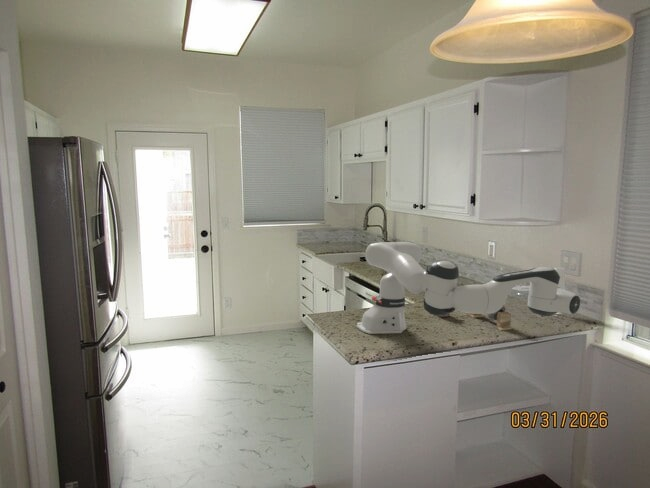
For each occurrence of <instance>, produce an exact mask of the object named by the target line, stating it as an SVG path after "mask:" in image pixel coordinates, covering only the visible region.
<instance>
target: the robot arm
mask: <svg viewBox="0 0 650 488" xmlns="http://www.w3.org/2000/svg"><path fill="white" fill-rule="evenodd" d="M364 253H365V254H364V256H365V260H366V263H368V265H369V266H372V267H376V268H378V269H382V270H383V271H385V272H387V273H386V274H384V275H383V276H382V277H381V278H380V280H379V281H380V282H379V295H378V297H376V296H373V295H372V297H371V300H372V301H373V302H375V304H374V305H372V306H371V307H370V308H369V309H367V310H366V311H365V312H363V314H362V318H361V321H358V322H357V324H356V327H357V329H358V330H359V331H360V332H363V333H366V334H369V335H375V334H376V335H379V334H402V333H403V332H404V331H405V330H406V329H407V324H406V319H405V318H406V317H405V307H406V297H405V290H406V291H408V292H409V293H411V294H415V295H416V294H421V293H423V292H424V298H423V308H424V310H425V311H426V312H427V313H429V314H430V315H433V316H438V317H440V316H442V315H446V314H448V313H450V314H451V313H454V311H458V312H462V313H466V314H468V313H472V314H483V315H488V314H491V313H495V312H497V311H499V310H500V309H501V308H502V307H503V305H504V306H505V304H506V301H507V300H508V297H509V296H510V297H512V298H516V299H522V300H523V299H525V300H526V299H527V308H528V310H529V311H530V312H531V313H533V314H536V315H538V316H539V315H540V316H542V317H551V316H555V315H554V314H556V313H558V312H560V313H562V314H569V315H574V314H577V312H578V311H579V310H580V306H581V298H580V296H579V294H578V295H577V293H574V292H572V291H570V290H567V289H565V290H564V289H560V286H558V284H559V280H560V276H559V274H558V273H557V271H556V270H555V269H554V268H552V267H549V266H539V267H533V268H531V269H525V270H519V271H513V272H509V273H508V272H507V273H502V274H499V275H495V276H494V277H493V278H492V280H490V281H488V282H486V283H483V284H482V283H481V284H480V283H479V284H465V285H460V286H457V284H458V278H459V276H460V275H459V274H460V272H459V267H458V266H457V265H456V264H455V263H454V262H451V261H448V260H437V261H434V262H432V263H431V264H429V265H426V266H425V269H424V268H423V267H422V266H421V264H419V263H420V261H421V259H422V255H423V254H422V253H423V252H422V248H421V247H420V246H419V245H418V244H417V243H413V242H409V241H392V242H391V241H390V242H389V241H388V242H386V241H385V242H383V241H381V242H374V243H370V244H368V246H367V247H366V250H365V252H364ZM526 283H529V285H522V284H526ZM519 284H521V285H519Z"/></svg>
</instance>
